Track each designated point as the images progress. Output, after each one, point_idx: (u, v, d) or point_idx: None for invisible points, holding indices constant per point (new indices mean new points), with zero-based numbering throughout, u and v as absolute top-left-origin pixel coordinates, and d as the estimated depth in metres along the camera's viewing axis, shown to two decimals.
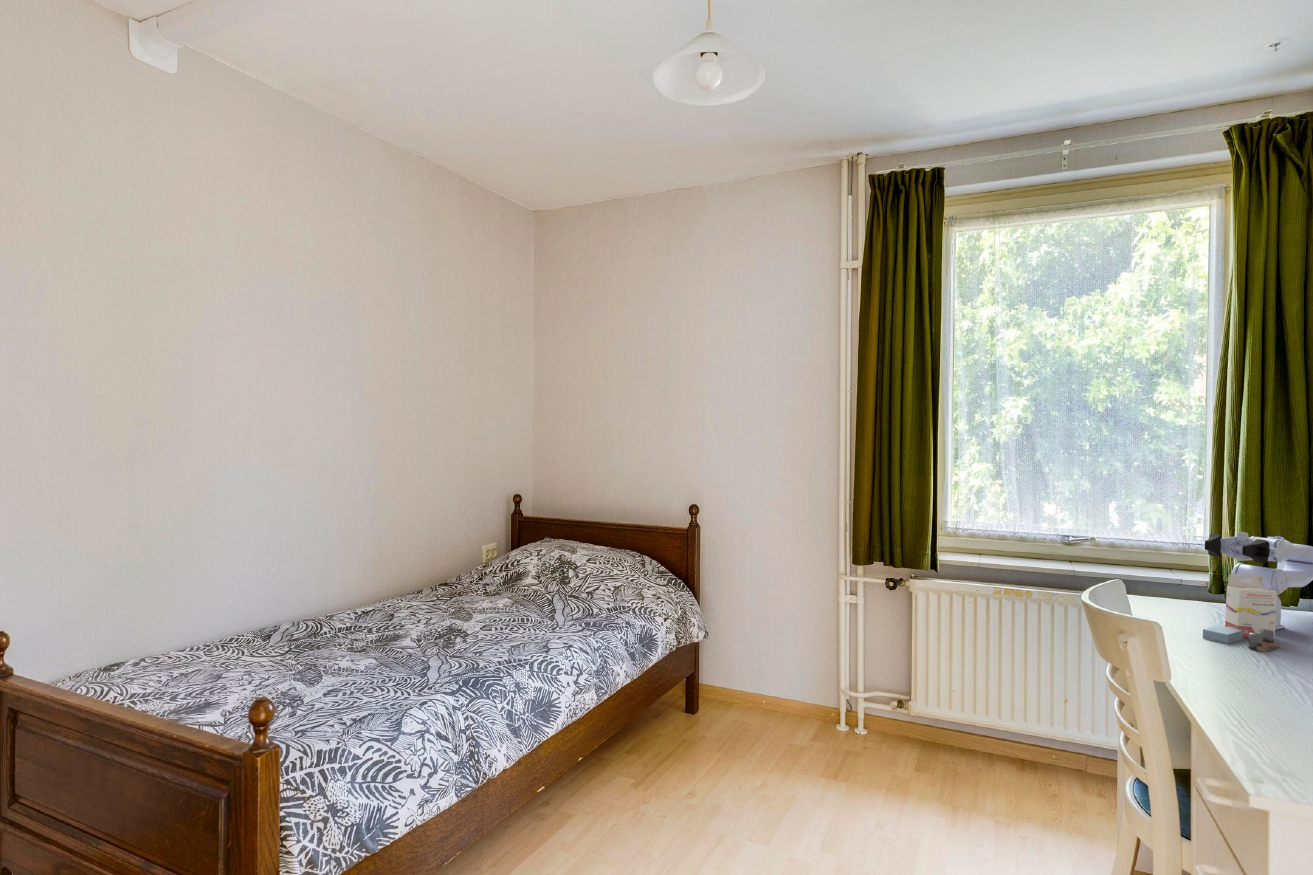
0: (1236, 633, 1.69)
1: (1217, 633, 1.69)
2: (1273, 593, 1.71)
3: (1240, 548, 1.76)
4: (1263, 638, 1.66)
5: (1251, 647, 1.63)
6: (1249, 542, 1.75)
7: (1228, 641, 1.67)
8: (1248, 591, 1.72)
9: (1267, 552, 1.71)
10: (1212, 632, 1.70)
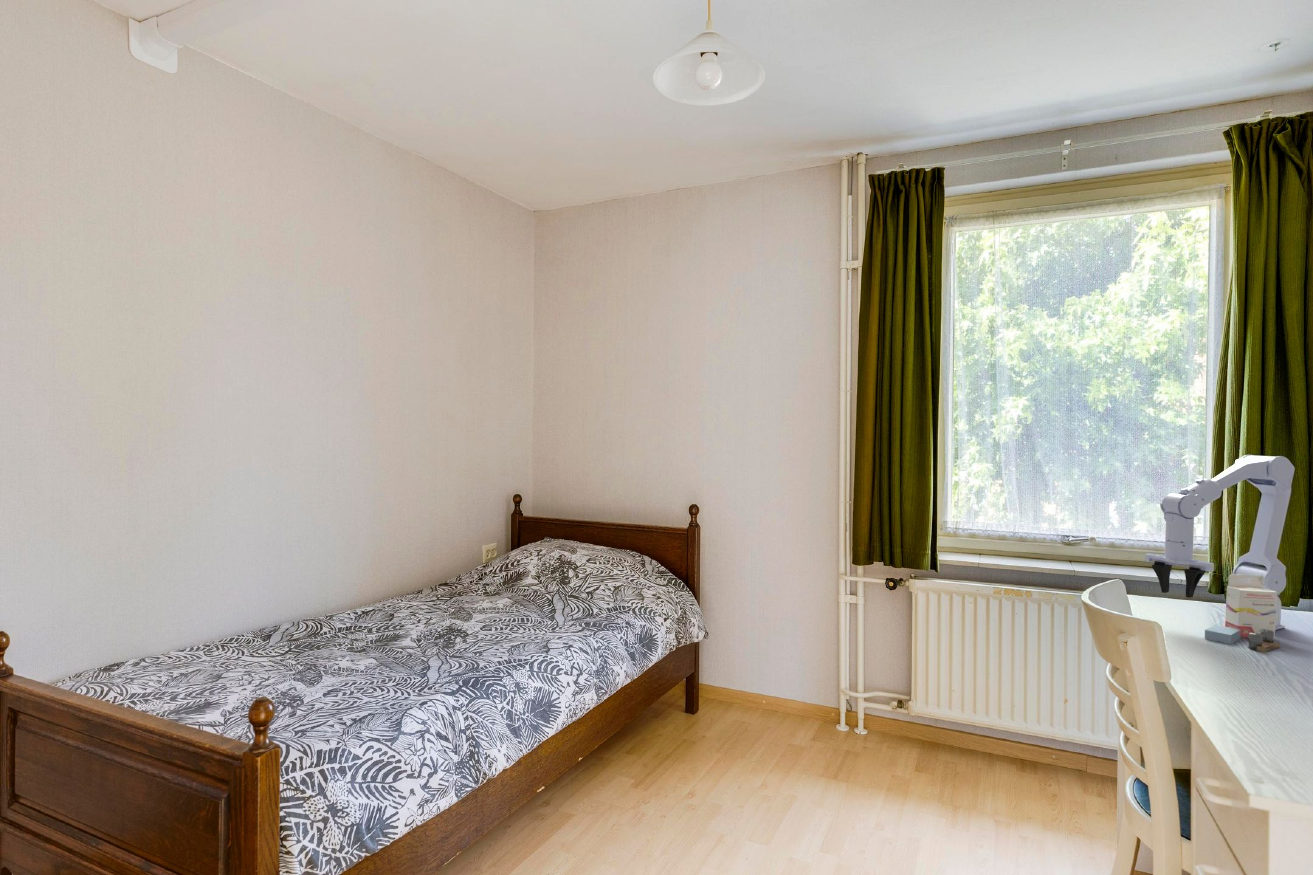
0: (1236, 633, 1.70)
1: (1220, 633, 1.69)
2: (1273, 593, 1.71)
3: None
4: (1263, 638, 1.66)
5: (1251, 647, 1.63)
6: None
7: (1231, 641, 1.67)
8: (1248, 591, 1.72)
9: (1200, 572, 1.75)
10: (1214, 633, 1.69)
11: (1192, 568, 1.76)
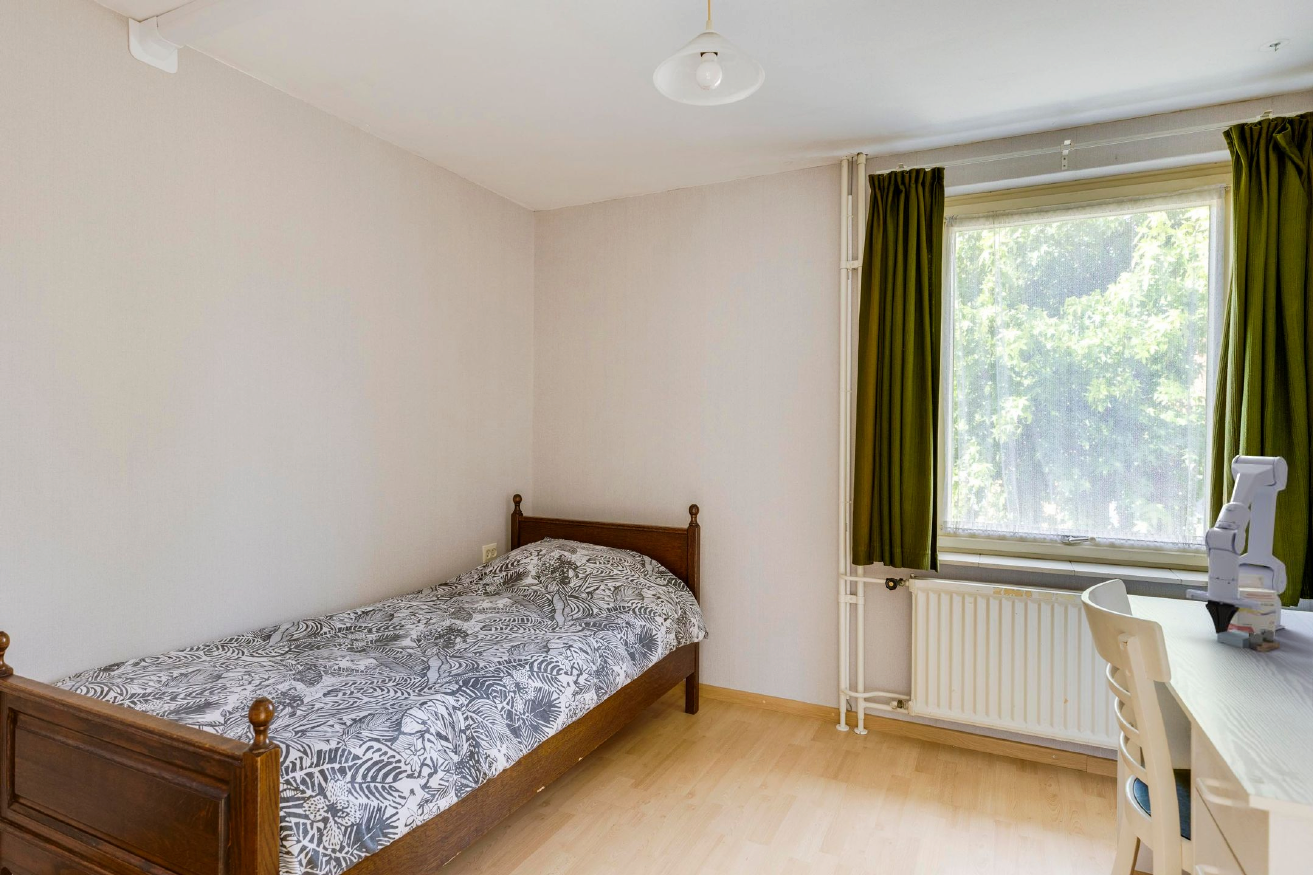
0: None
1: (1232, 637, 1.66)
2: (1273, 593, 1.71)
3: None
4: (1263, 638, 1.66)
5: (1251, 647, 1.63)
6: (1227, 601, 1.69)
7: (1243, 646, 1.65)
8: (1248, 591, 1.72)
9: (1234, 609, 1.69)
10: (1227, 636, 1.67)
11: (1238, 607, 1.68)
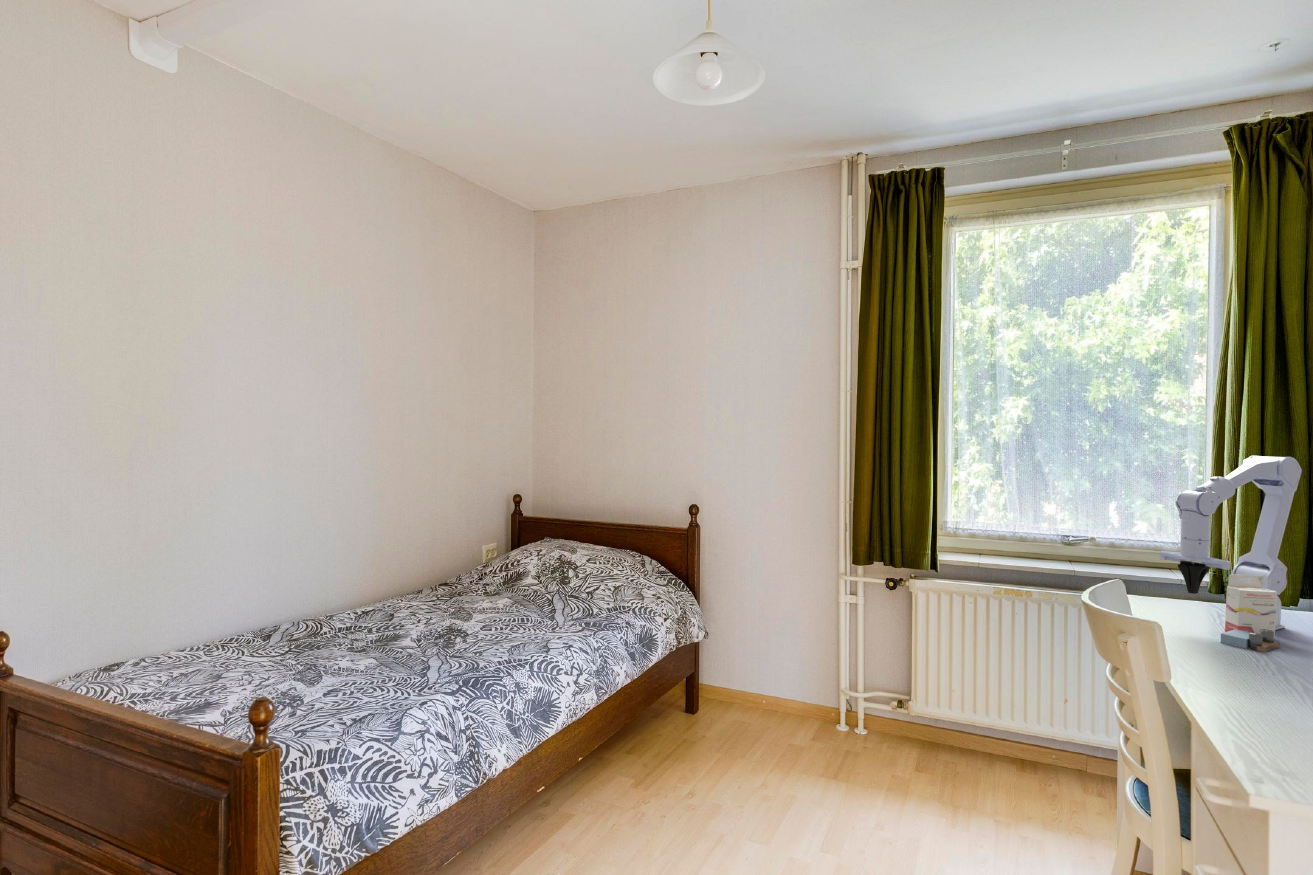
0: None
1: (1235, 637, 1.66)
2: (1273, 593, 1.71)
3: None
4: (1263, 638, 1.66)
5: (1251, 647, 1.63)
6: None
7: (1247, 646, 1.64)
8: (1248, 591, 1.72)
9: (1205, 568, 1.75)
10: (1230, 636, 1.66)
11: (1208, 566, 1.74)
